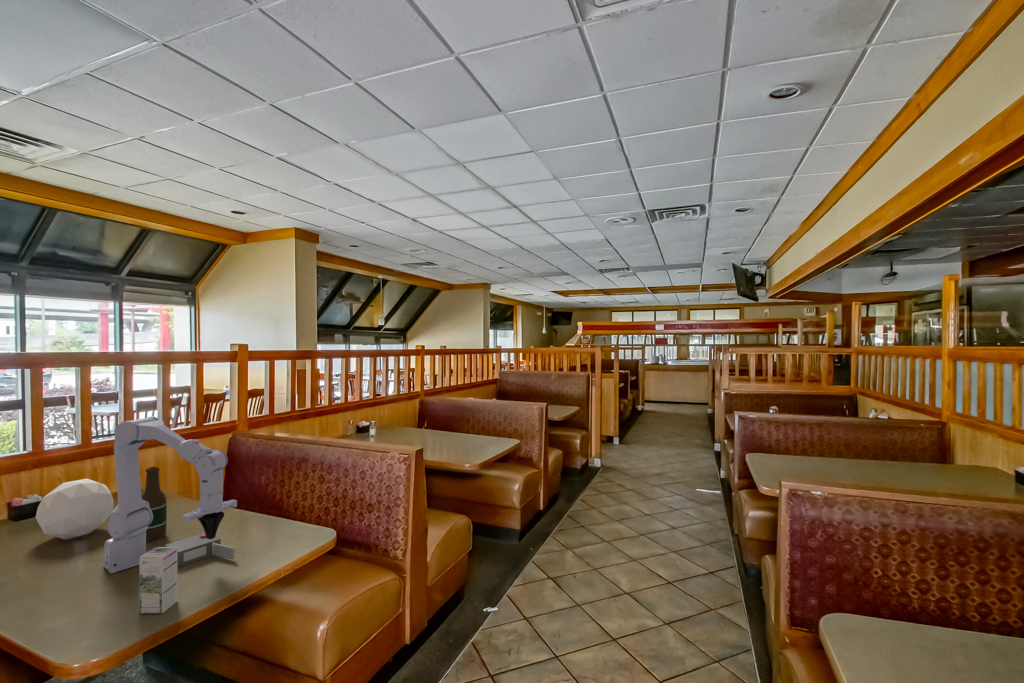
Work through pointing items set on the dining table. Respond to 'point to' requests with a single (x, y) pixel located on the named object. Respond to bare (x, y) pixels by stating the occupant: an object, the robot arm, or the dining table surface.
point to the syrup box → (158, 580)
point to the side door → (223, 551)
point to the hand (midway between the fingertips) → (210, 538)
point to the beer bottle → (155, 505)
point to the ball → (74, 508)
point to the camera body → (193, 548)
